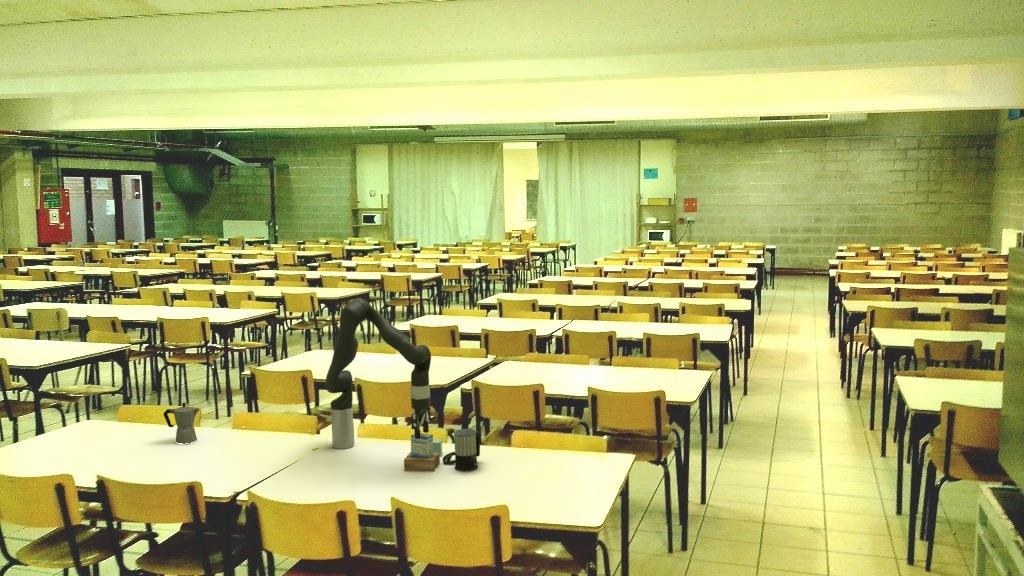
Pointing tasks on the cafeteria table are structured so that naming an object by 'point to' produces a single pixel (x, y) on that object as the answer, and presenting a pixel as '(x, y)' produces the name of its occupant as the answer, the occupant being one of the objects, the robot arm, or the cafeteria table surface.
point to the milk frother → (465, 450)
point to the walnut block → (421, 463)
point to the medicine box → (422, 445)
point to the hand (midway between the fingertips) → (421, 435)
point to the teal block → (437, 446)
